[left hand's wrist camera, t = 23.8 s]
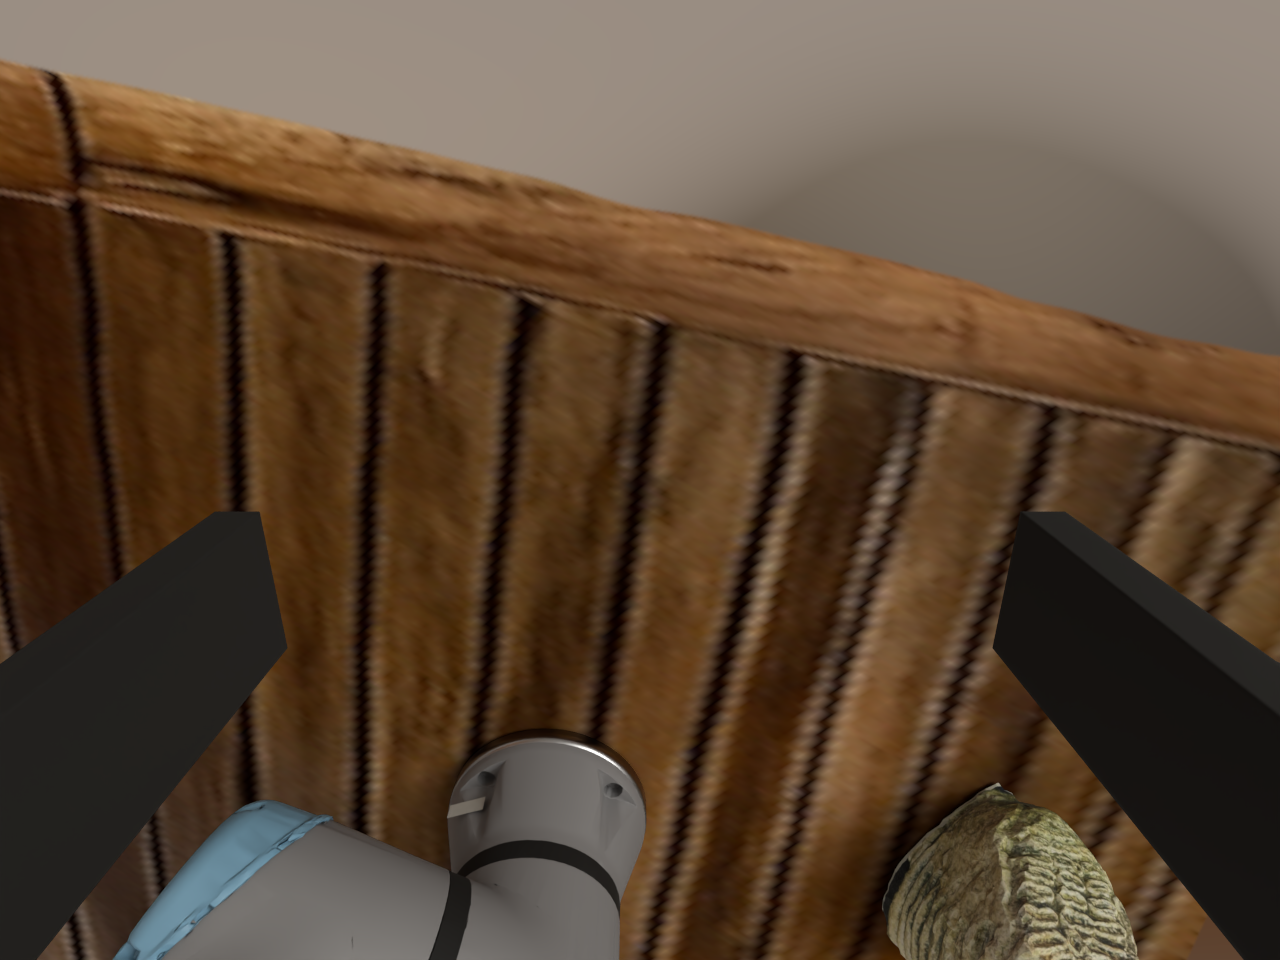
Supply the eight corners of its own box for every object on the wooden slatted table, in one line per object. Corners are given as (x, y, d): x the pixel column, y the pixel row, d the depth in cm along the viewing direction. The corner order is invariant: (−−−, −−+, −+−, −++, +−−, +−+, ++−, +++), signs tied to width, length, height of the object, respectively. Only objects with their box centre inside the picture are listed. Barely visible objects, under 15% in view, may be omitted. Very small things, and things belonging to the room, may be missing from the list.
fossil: (1062, 776, 55) (1205, 968, 41) (959, 938, 62) (1054, 1153, 48) (956, 751, 54) (1066, 938, 40) (864, 918, 61) (931, 1130, 47)
